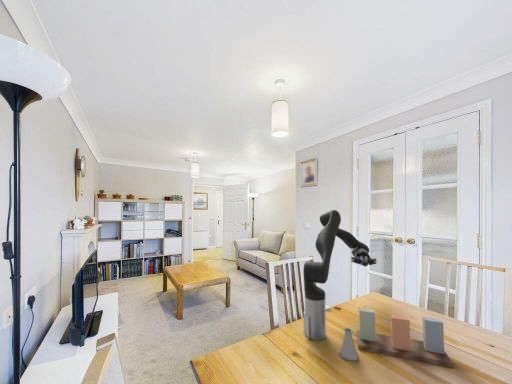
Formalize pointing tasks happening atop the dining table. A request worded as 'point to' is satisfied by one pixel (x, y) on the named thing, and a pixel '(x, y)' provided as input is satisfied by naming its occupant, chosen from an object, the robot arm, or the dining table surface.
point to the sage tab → (367, 324)
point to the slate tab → (433, 335)
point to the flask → (348, 347)
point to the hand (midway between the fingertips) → (365, 264)
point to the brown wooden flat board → (415, 353)
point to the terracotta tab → (400, 332)
